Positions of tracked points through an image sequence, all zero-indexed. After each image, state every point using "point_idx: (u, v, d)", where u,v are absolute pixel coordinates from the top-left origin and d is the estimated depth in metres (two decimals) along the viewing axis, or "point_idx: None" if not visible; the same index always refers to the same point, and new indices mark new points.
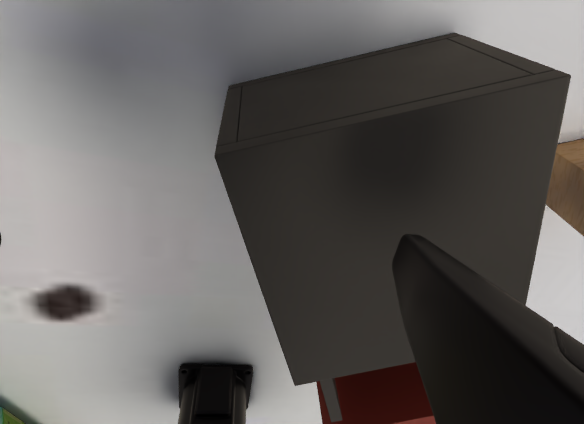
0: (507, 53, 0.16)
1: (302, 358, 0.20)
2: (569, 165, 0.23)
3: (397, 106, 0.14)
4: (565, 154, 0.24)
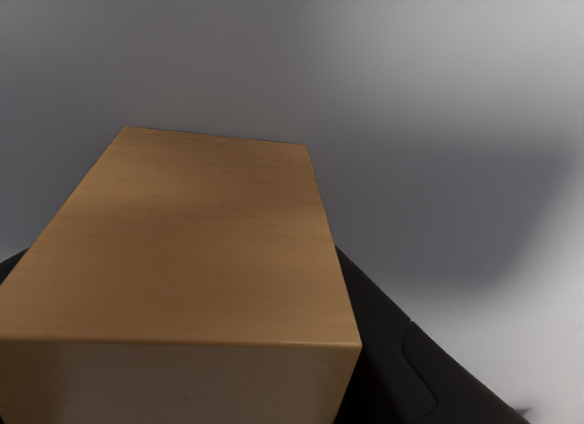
0: None
1: None
2: None
3: None
4: None
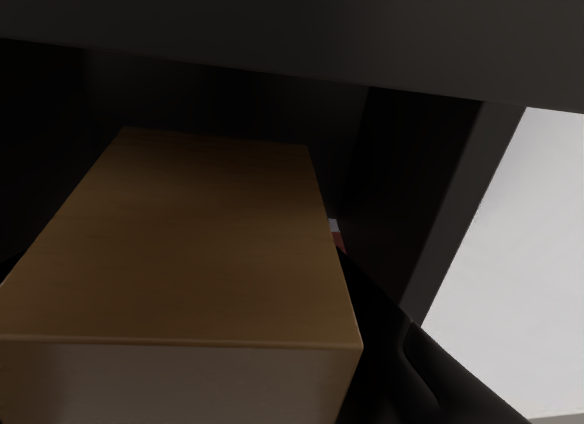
0: None
1: None
2: None
3: None
4: None
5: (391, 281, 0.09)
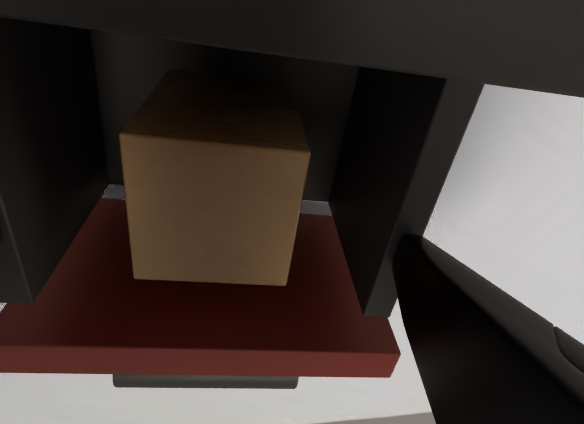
0: None
1: None
2: None
3: None
4: None
5: (374, 248, 0.10)
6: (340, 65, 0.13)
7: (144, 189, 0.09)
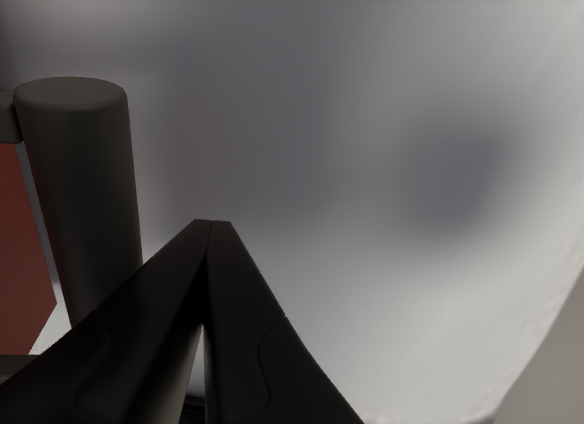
0: None
1: None
2: None
3: None
4: None
5: None
6: None
7: None
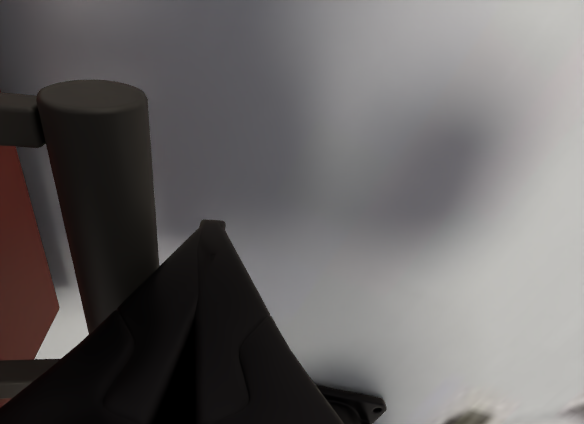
0: None
1: None
2: None
3: None
4: None
5: None
6: None
7: None
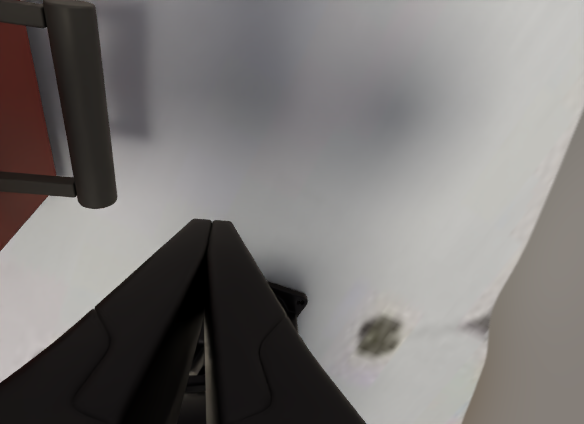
0: None
1: None
2: None
3: None
4: None
5: None
6: None
7: None
